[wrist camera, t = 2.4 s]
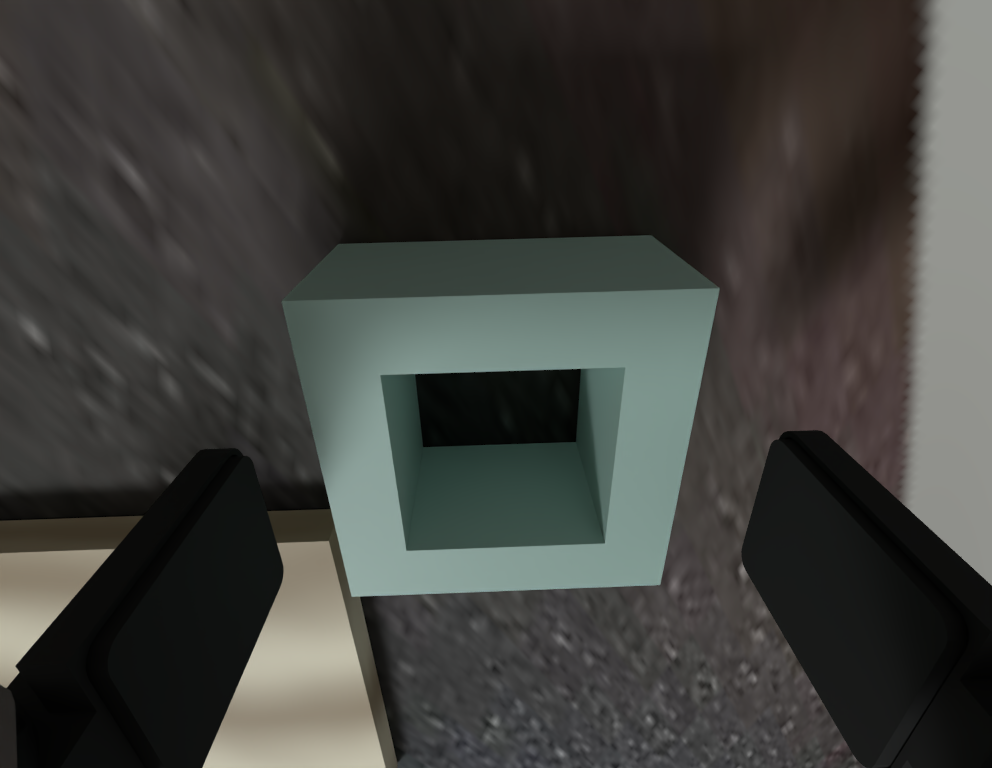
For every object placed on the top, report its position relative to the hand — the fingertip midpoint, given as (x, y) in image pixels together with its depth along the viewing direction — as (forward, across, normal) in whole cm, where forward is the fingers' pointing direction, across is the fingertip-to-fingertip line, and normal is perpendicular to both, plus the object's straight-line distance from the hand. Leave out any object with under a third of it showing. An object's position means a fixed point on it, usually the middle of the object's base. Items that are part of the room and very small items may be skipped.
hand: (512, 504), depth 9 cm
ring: (+4, 0, -1) cm, 4 cm away
